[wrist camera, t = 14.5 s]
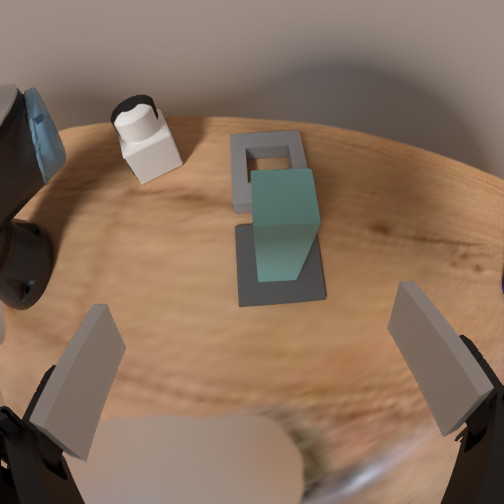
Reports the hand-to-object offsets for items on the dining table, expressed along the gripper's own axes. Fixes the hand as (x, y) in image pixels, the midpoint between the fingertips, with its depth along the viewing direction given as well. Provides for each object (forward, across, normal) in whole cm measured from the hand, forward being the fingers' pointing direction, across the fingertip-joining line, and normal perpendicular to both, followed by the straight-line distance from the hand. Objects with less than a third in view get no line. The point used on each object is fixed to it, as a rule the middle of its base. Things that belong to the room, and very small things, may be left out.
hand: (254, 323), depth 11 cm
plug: (+19, +3, -8) cm, 21 cm away
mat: (+20, +3, -8) cm, 22 cm away
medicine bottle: (+33, -14, +4) cm, 36 cm away
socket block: (+29, +3, +1) cm, 29 cm away
